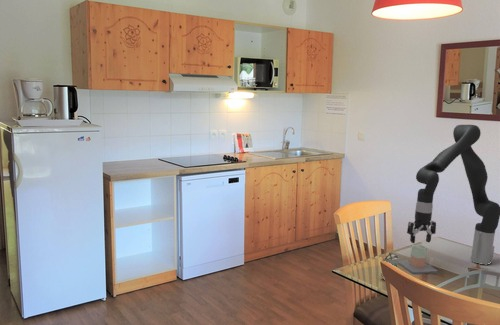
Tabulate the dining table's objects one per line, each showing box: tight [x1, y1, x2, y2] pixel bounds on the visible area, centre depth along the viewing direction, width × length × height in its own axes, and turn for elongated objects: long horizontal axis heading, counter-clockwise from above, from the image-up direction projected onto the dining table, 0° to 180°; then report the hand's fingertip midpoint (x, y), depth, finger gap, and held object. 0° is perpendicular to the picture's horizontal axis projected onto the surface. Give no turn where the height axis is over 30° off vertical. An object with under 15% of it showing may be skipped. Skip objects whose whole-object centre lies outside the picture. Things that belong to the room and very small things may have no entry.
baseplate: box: [398, 259, 439, 275], centre depth 217 cm, size 14×14×1 cm
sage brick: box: [410, 244, 428, 258], centre depth 216 cm, size 5×5×5 cm
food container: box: [381, 251, 401, 277], centre depth 203 cm, size 12×6×10 cm, turn 148°
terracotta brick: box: [409, 254, 427, 268], centre depth 217 cm, size 5×5×5 cm
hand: (420, 242), depth 215 cm, fingers open, 8 cm apart
